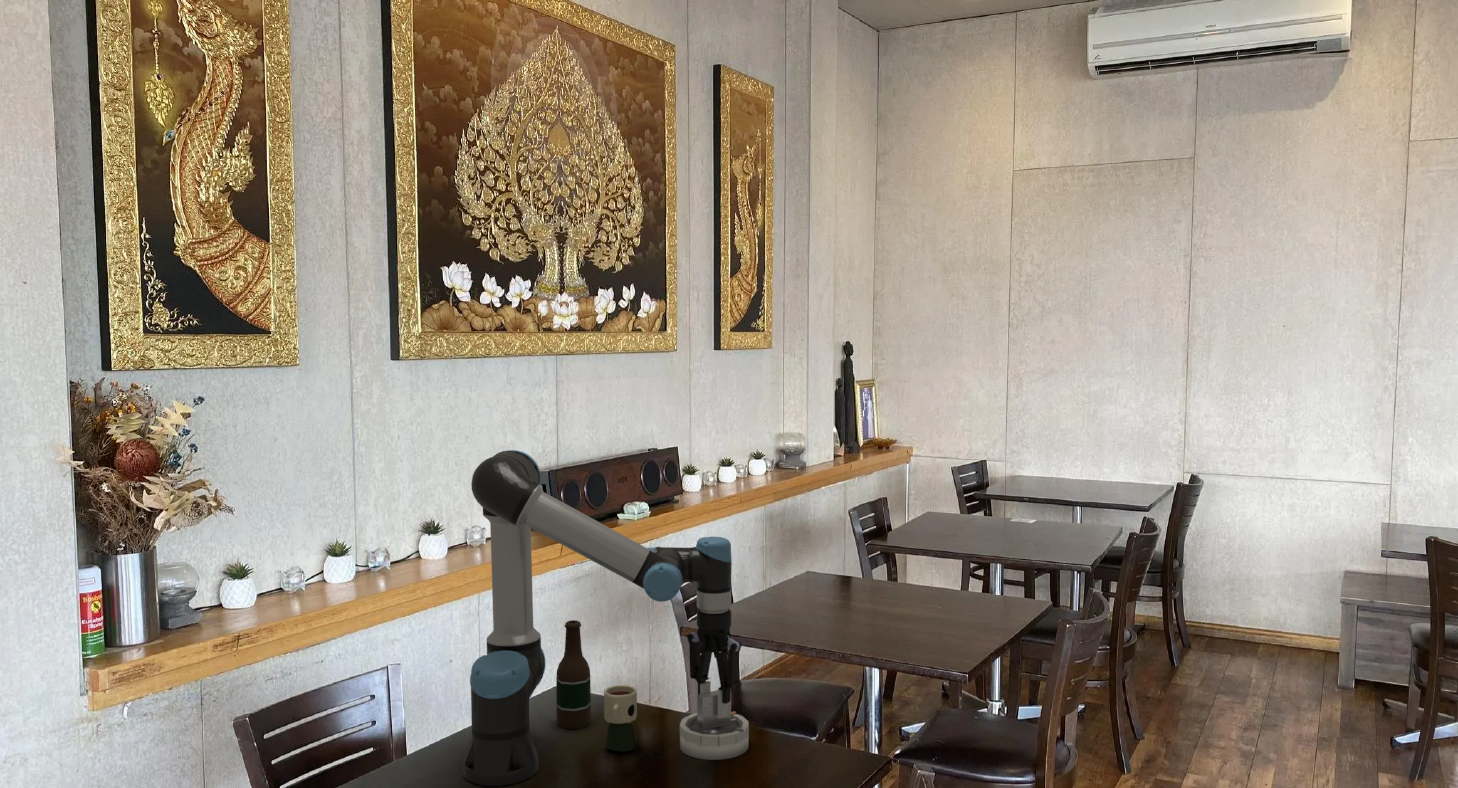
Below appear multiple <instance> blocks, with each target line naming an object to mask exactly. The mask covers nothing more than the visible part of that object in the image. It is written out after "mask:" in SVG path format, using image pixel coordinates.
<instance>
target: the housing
mask: <svg viewBox="0 0 1458 788" xmlns="http://www.w3.org/2000/svg"><path fill="white" fill-rule="evenodd" d="M696 718H697V712H695V713H692V714H690V715H687V716H685V717H683V718H682V719H681V721H680V724H679V748H680V750H681V752H683V754H685V755H687V756H688V757H692V758H695V759H700V760H707V761H709V760H710V761H721V760H728V759H733V758H736V757H739V756H741V755H744V754H745V753H746V752H747V750H748V749H749V736H750V735H749V733H750V728H749V727H750V723H749V720H747V719H746V718H745V717H744V716H743V715H741V714H737V711H734V710H733V711H731V718H733V719H734V718H735V719H736V720H737V721H738V722H739V728H738V727H737V728H735V730H736V731H734V732H732V733H726V734H720V735H713V734H701V733H697V732H694V731H691V730H690V729H689V723H690V722H691V721H692V720H694V719H696Z"/></svg>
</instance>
